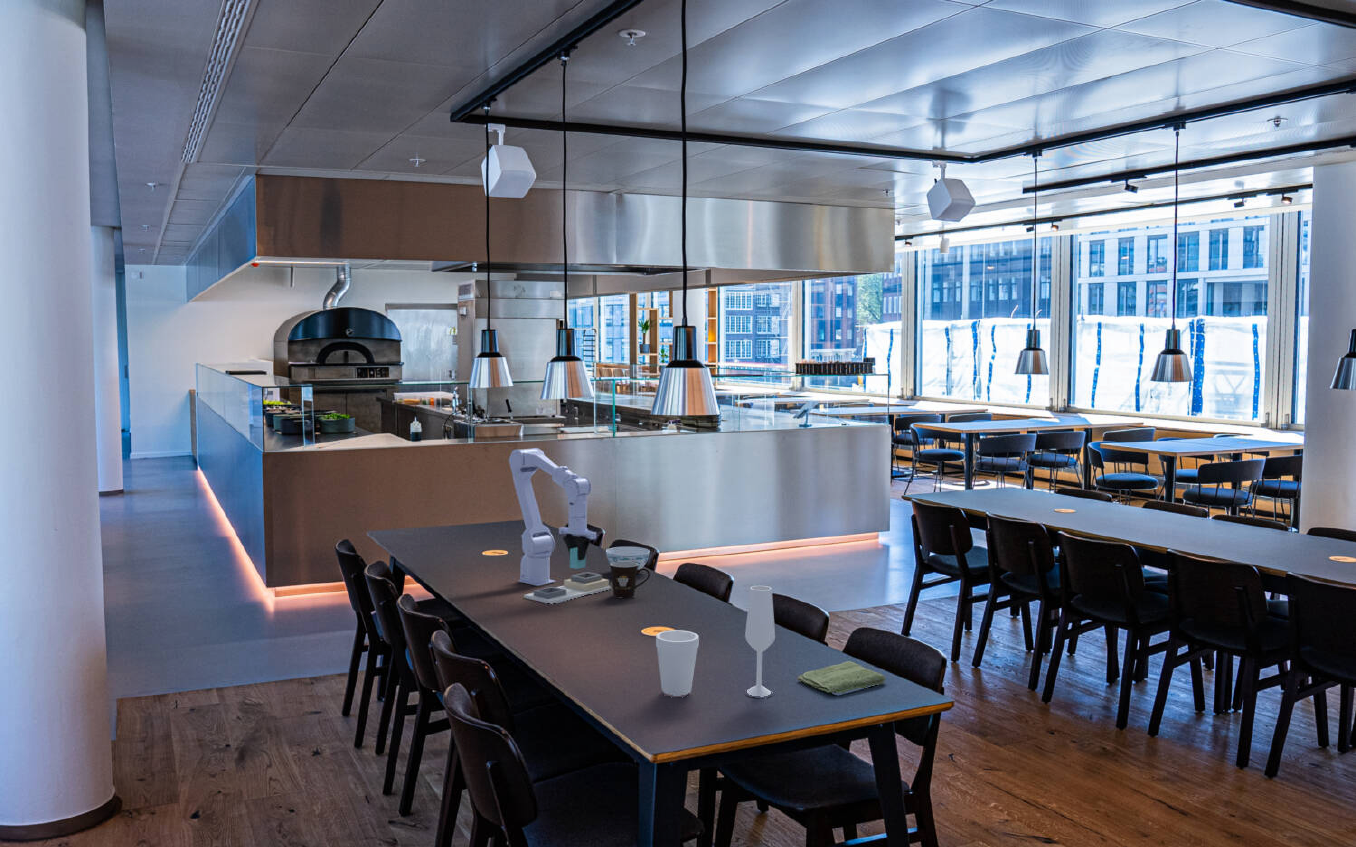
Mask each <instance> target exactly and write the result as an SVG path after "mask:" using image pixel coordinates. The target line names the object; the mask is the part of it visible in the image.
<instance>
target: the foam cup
mask: <svg viewBox="0 0 1356 847" xmlns="http://www.w3.org/2000/svg"><path fill="white" fill-rule="evenodd" d="M699 639H700V637H699V635H698V634H697V633H696V632H693V631H689V630H682V629H678V630H677V629H675V630H663V631H661V632H658V633H657V634H656V636H655V646H656V649H657V650H656V651H657V660H658V667H659V677H660V685H661V692H662V691H663V692H664V693H666V694H669V695H673V696H681V695H686V694H688V693H690V692H691V691H692V688H693V680H694V676H695V668H696V660H697V655H698V654H697V653H698V648H699V645H700V644H699V642H700V641H699ZM691 693H692V692H691ZM691 693H690V694H691Z"/></svg>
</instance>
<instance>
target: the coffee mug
mask: <svg viewBox="0 0 1356 847" xmlns="http://www.w3.org/2000/svg"><path fill="white" fill-rule="evenodd" d="M609 564H610V563H609ZM609 567H610V571H611V572H610V573H611V574H610V576H611V583H612V593H613V594H612V595H613V597H614V596H616V597H622V598H621V599H630V598H629V597H632V598H634V597H635V592H636V589H637V588H638V587H639V586H642V585H643V584H645V583H646V582H647V581H648V580H649V579H650V576H651V573H650V571H649V570H648V569H647V568H643V567H642V568H641V569H639V570H638V563H635V562H628V561H620V562H613V563H611V564H610V566H609ZM642 571H645V572H646V573H647V574H648V576H647V578H646V579H644V580H643V581H641V582H640V583H638V584H637V576H638V575H639V574H640V572H642ZM633 596H634V597H633ZM616 597H615V598H616Z"/></svg>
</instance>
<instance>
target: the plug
mask: <svg viewBox="0 0 1356 847" xmlns="http://www.w3.org/2000/svg"><path fill="white" fill-rule="evenodd" d="M586 555H587V554H586ZM586 555H585V559H584V560H578V549H577V547H576V548H571V549H570V555H569V568H570V569H575V570H579V569H583V568H586V566H587V565H586V561H587V560H586V559H587V558H586V557H587V556H586Z"/></svg>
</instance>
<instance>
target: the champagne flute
mask: <svg viewBox="0 0 1356 847" xmlns="http://www.w3.org/2000/svg"><path fill="white" fill-rule="evenodd" d="M749 589H750V590H749V598H748V606H747V615H746V624H745V634H744V638H745V640H746V642H747V643H748V645H749V646H750V647H751V648H752V649H753V650H754V651H756V677H755V678H756V682H755V684H756V685H754V686H752V687H749V689H746V690H747V693H748V694H749V695H752V696H760V697H764V696H768V695H770V694H771V692H772V691H771V690H770V689H767V688H766V687H764V686H763V685H762V684H763V683H762V679H763V678H762V677H763V676H762V675H763V652H764V651H765V650H767V649H768V648H769V647H770V646H771V645H772V644H773V643H774V641H775V640H776V633H775V618H774V617H775V616H774V603H773V591H772V590H773V589H772V587H770V586H767V585H754V586H750V588H749Z"/></svg>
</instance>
